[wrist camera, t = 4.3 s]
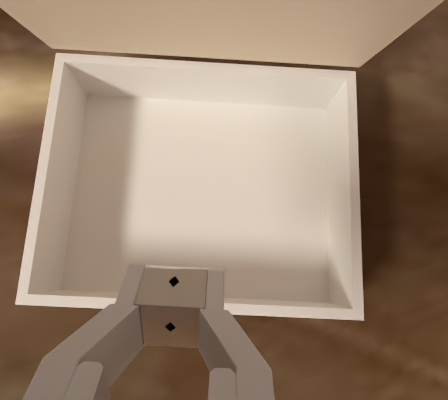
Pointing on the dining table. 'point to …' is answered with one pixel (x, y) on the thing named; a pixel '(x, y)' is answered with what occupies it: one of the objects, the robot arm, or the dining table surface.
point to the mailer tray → (198, 184)
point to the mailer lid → (224, 27)
